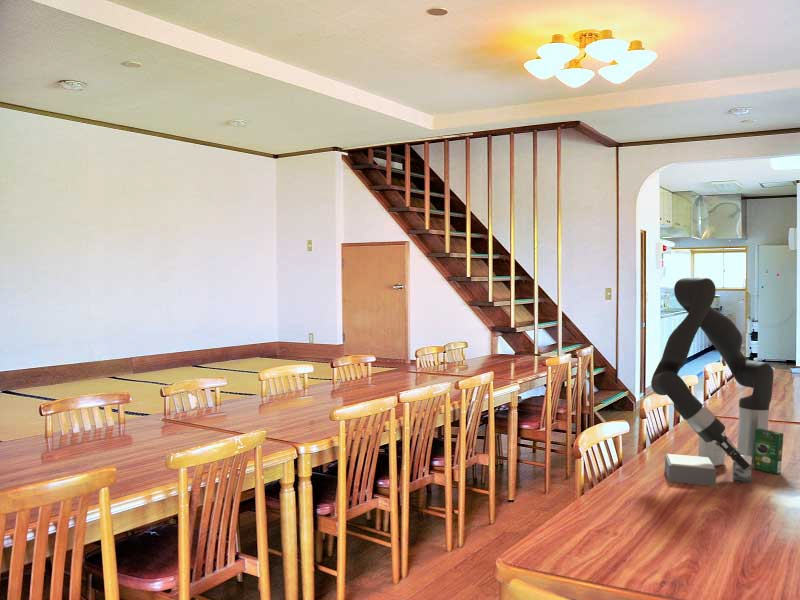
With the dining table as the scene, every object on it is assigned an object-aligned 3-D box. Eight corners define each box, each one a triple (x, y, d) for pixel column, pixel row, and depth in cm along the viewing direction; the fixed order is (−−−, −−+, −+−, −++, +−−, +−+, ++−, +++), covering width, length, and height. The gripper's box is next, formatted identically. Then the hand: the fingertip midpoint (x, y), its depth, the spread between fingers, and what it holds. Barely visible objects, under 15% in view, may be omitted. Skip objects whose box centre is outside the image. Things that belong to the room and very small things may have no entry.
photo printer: (714, 461, 235) (715, 424, 234) (726, 464, 231) (728, 427, 231) (696, 465, 229) (697, 428, 228) (708, 468, 225) (709, 430, 225)
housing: (731, 478, 215) (732, 452, 215) (748, 479, 214) (750, 453, 213) (734, 482, 210) (735, 456, 210) (752, 484, 209) (753, 457, 209)
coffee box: (782, 473, 221) (784, 432, 221) (777, 475, 220) (779, 433, 219) (757, 467, 228) (759, 427, 227) (752, 468, 226) (754, 428, 226)
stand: (664, 470, 222) (665, 453, 222) (708, 474, 219) (709, 456, 218) (668, 481, 210) (669, 463, 209) (715, 486, 206) (716, 467, 206)
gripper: (718, 420, 207) (759, 462, 204) (710, 411, 220) (749, 450, 218) (698, 436, 208) (738, 478, 206) (692, 426, 222) (730, 465, 219)
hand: (744, 464), depth 212 cm, fingers open, 8 cm apart
